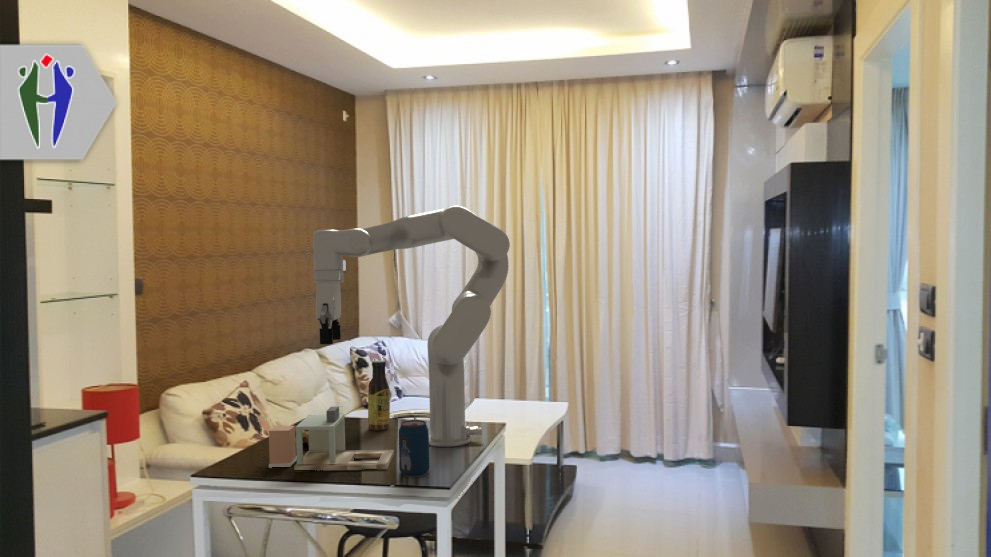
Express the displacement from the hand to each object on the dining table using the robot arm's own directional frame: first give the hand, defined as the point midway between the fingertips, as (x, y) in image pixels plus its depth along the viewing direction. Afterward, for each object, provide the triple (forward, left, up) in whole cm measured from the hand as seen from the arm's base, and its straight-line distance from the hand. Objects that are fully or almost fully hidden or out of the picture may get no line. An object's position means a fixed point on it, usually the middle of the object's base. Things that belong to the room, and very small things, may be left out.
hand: (330, 341), depth 197 cm
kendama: (+9, -1, -29) cm, 30 cm away
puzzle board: (-6, +14, -28) cm, 32 cm away
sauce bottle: (-9, -21, -28) cm, 37 cm away
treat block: (+10, +14, -28) cm, 32 cm away
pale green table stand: (0, +14, -27) cm, 30 cm away
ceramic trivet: (+10, +14, -28) cm, 33 cm away
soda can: (-24, +24, -28) cm, 44 cm away
